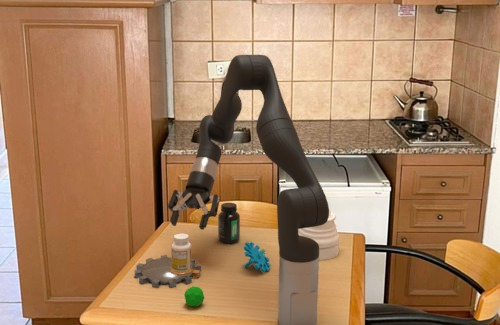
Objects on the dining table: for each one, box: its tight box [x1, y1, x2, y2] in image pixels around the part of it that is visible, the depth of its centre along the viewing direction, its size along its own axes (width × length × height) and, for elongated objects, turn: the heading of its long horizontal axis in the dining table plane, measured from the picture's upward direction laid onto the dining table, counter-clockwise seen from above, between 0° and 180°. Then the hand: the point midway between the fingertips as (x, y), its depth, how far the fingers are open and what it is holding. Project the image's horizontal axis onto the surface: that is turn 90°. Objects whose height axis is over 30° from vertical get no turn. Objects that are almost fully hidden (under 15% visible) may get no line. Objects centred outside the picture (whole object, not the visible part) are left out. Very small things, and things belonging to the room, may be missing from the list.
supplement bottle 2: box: [217, 202, 241, 245], centre depth 199 cm, size 7×7×12 cm
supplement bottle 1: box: [171, 233, 192, 272], centre depth 175 cm, size 5×5×10 cm
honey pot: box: [298, 209, 340, 261], centre depth 191 cm, size 13×13×18 cm
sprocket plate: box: [134, 254, 202, 289], centre depth 177 cm, size 18×18×2 cm
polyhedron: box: [184, 285, 205, 308], centre depth 159 cm, size 5×5×5 cm
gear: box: [242, 241, 272, 273], centre depth 181 cm, size 11×6×10 cm
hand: (187, 226), depth 177 cm, fingers open, 8 cm apart
